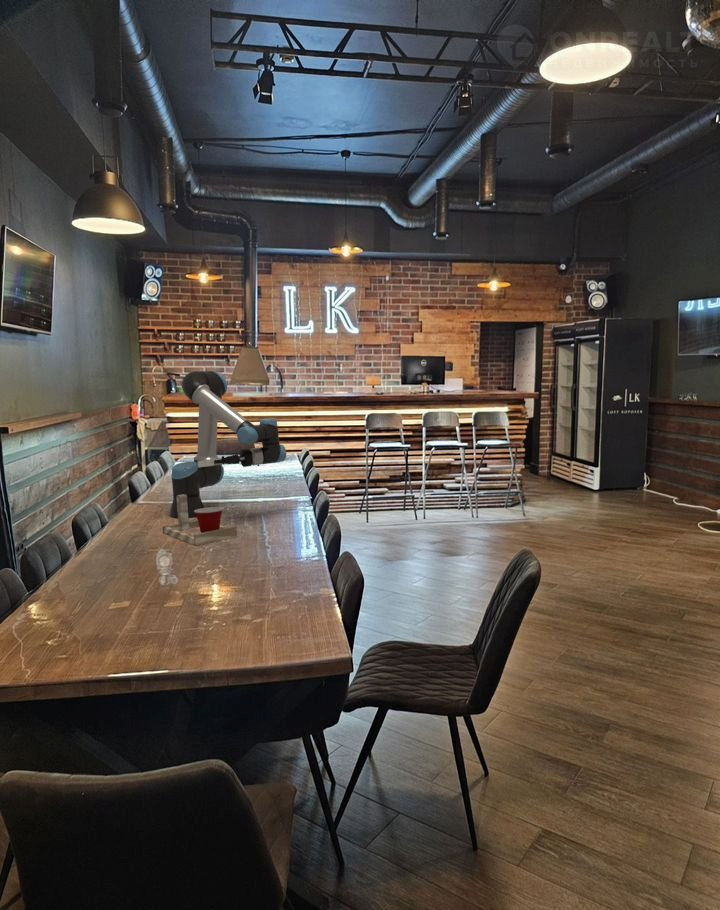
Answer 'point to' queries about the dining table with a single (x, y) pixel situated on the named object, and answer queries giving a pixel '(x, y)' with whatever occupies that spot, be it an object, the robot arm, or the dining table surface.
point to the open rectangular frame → (185, 524)
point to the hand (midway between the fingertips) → (201, 463)
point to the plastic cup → (209, 518)
